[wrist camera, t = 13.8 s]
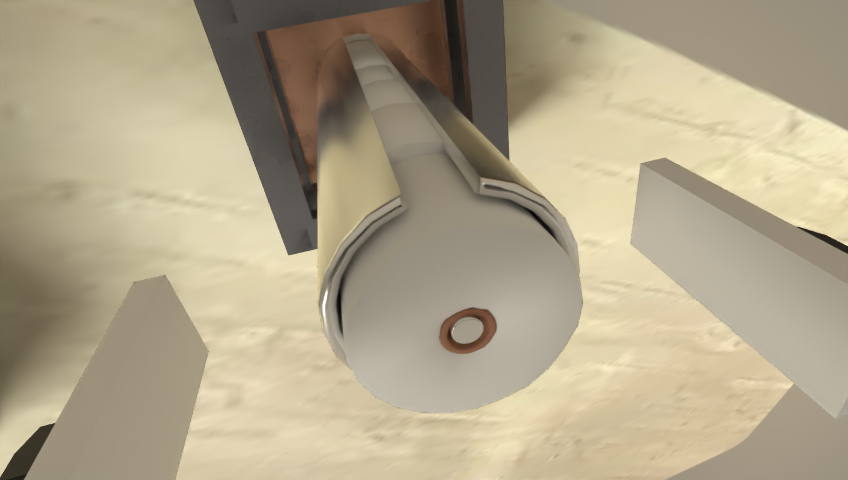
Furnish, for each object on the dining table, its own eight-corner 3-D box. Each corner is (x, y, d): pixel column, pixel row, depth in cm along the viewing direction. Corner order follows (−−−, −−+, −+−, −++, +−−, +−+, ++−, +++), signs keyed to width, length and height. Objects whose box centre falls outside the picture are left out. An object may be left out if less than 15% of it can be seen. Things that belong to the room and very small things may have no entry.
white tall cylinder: (425, 54, 31) (659, 244, 10) (393, 142, 33) (521, 437, 12) (332, 16, 28) (378, 155, 7) (305, 113, 31) (283, 415, 10)
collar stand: (294, 192, 34) (288, 255, 27) (225, -16, 27) (190, -9, 19) (470, 154, 36) (511, 204, 28) (451, -54, 28) (500, -62, 21)
